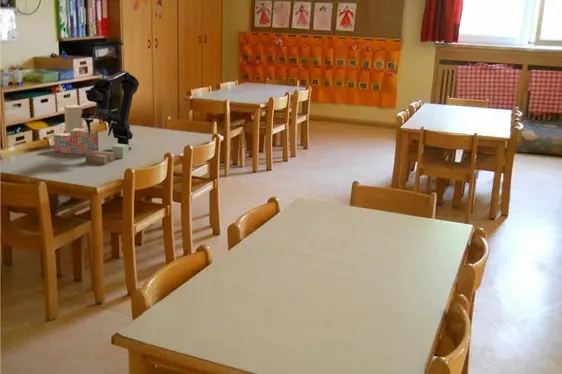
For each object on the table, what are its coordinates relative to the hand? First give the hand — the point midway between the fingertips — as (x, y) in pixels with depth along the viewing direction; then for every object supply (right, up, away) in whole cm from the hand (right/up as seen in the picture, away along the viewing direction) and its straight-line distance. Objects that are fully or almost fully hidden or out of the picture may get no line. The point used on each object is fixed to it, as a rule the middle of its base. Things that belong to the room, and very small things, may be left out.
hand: (98, 135), depth 301 cm
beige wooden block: (-23, -3, +30) cm, 38 cm away
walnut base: (+1, -13, -1) cm, 13 cm away
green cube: (+8, -10, +10) cm, 17 cm away
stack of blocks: (-16, -8, +14) cm, 23 cm away
